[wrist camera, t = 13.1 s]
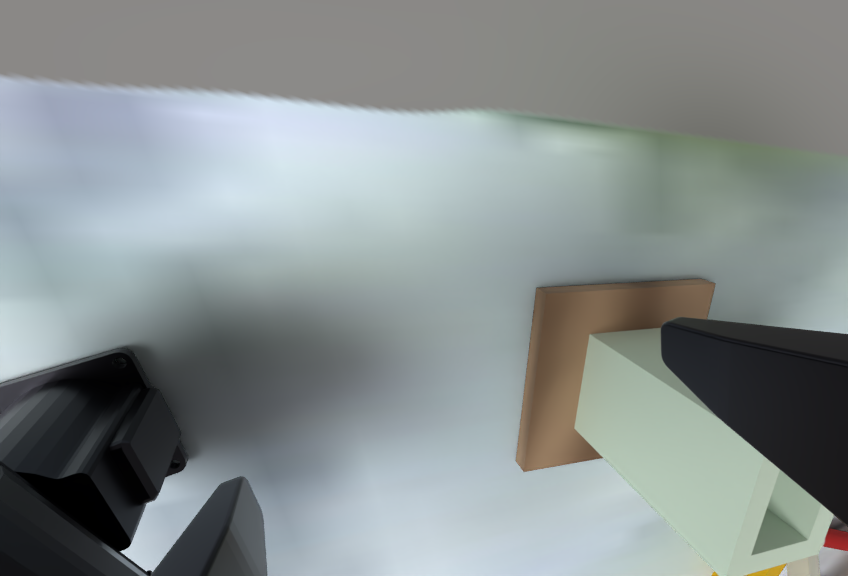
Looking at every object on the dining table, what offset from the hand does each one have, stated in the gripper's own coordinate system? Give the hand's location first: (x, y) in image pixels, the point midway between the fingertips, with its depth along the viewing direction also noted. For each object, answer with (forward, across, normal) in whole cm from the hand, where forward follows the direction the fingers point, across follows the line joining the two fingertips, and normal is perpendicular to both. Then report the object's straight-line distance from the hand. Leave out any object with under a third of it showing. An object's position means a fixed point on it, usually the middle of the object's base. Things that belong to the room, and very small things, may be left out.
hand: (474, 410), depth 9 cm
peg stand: (+13, -12, +11) cm, 21 cm away
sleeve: (+12, -12, +11) cm, 20 cm away
